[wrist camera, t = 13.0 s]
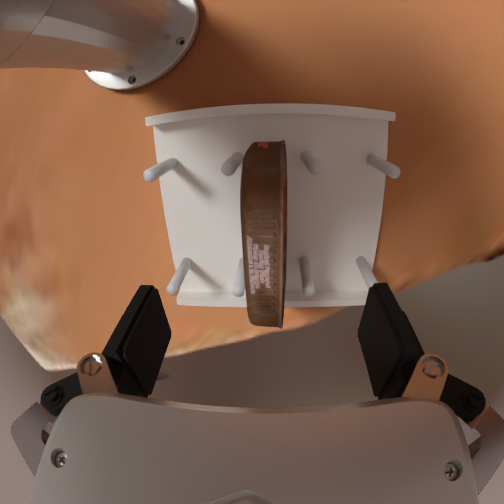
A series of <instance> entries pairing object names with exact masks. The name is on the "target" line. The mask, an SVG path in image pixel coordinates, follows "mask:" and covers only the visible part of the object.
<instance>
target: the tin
mask: <svg viewBox="0 0 504 504" xmlns="http://www.w3.org/2000/svg"><path fill="white" fill-rule="evenodd" d="M240 215H241V233H242V249H243V265H244V279H245V292H246V302H247V312H248V317H249V320H250V322H251V323H252V324H253V325H256V326H267V327H279V328H282V326H283V316H284V300H285V286H286V260H287V155H286V144H285V140H282V141H275V142H271V141H261V142H254V143H252V144H251V145H250V147H249V148H248V150H247V151H246V153H245V155H244V159H243V164H242V172H241V185H240Z"/></svg>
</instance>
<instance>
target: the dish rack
mask: <svg viewBox="0 0 504 504" xmlns="http://www.w3.org/2000/svg"><path fill="white" fill-rule="evenodd" d="M388 121H395V112H391V111H384V110H377V109H369V108H361V107H351V106H340V105H325V104H298V103H272V104H245V105H230V106H218V107H208V108H200V109H192V110H184V111H178V112H171V113H165V114H159V115H154V116H149V117H145V122H146V126H151V125H153V129H154V139H155V149H156V157H157V165H155V166H153V167H151V168H149V169H147V170H145V171H144V174H143V176H144V179H145V180H146V181H147V182H152V181H154V180H156V179H157V178H159V180H160V187H161V194H162V200H163V207H164V213H165V219H166V224H167V230H168V235H169V241H170V246H171V251H172V256H173V261H174V266H175V270H176V272H175V274H174V276H173V278H172V280H171V281H170V283H169V285H168V287H167V292H168V293H169V294H171V295H176V294H177V292H178V290H179V288H180V292H179V294H178V296H177V298H176V301H177V305H188V306H214V307H247V302H246V292H245V279H244V265H243V249H242V233H241V215H240V185H241V172H242V164H243V159H244V155H245V153H246V151H247V150H248V148H249V147H250V145H251V144H252V143H254V142H261V141H271V142H275V141H282V140H285V144H286V155H287V260H286V286H285V300H284V307H331V306H356V305H365V303H366V299H367V295H368V289H369V288H370V287H373V284H374V283H378V282H377V280H376V278H375V276H374V274H373V272H372V269H373V264H374V259H375V254H376V248H377V242H378V236H379V229H380V222H381V215H382V207H383V199H384V189H385V179H386V175H387V176H389V177H391V178H392V179H396V178H398V177H399V176H400V173H401V171H400V168H399V167H398V166H396V165H394V164H392V163H390V162H388V161H387V149H388Z"/></svg>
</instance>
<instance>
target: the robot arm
mask: <svg viewBox="0 0 504 504" xmlns="http://www.w3.org/2000/svg"><path fill="white" fill-rule="evenodd" d="M199 17H200V15H199V9H198V5H197V2H196V0H0V69H2V68H30V67H34V68H64V69H77V70H84V71H85V72H86V74H87V76H88V77H89V78H90V79H91V80H92V81H93V82H94V83H96V84H98V85H99V86H101V87H105V88H108V89H114V90H130V89H135V88H139V87H142V86H145V85H147V84H150V83H152V82H154V81H155V80H157V79H159V78H161V77H162V76H164V75H165V74H166V73H167V72H169V71H170V70H171V69H173V68H174V67H175V66H176V65H177V63H178V62H179V61H180V60H181V59H182V58H183V57H184V55H185V54H186V53H187V51H188V50H189V49H190V47H191V45H192V43H193V41H194V39H195V37H196V33H197V30H198V27H199ZM183 41H185V43H184V44H183V45H181V43H182V42H183ZM135 79H136V82H135ZM358 338H359V342H360V345H361V348H362V352H363V355H364V359H365V363H366V366H367V369H368V373H369V377H370V381H371V385H372V389H373V393H374V396H375V397H377V396H378V400H375V401H368V402H360V403H352V404H343V405H332V406H321V407H303V408H235V407H218V406H206V405H195V404H186V403H177V402H171V401H164V400H157V399H151V398H147V397H148V395H151V393H152V391H153V388H154V385H155V382H156V379H157V376H158V373H159V370H160V367H161V364H162V361H163V358H164V356H165V353H166V350H167V347H168V344H169V341H170V339H171V329H170V326H169V323H168V320H167V317H166V314H165V311H164V308H163V305H162V301H161V298H160V295H159V291H158V289H155V287H154V286H152V285H141V286H140V287H139V289H138V290H137V292H136V294H135V295H134V297H133V299H132V300H131V302H130V304H129V305H128V307H127V309H126V311H125V312H124V314H123V315H122V317H121V319H120V321H119V323H118V324H117V326H116V328H115V330H114V332H113V333H112V335H111V337H110V339H109V341H108V343H107V344H106V346H105V348H104V350H103V352H102V354H100V353H90V354H87V355H85V356H84V357H83V358H82V359H81V360H80V361H79V363H78V365H77V373H74V374H72V375H70V376H68V377H66V378H64V379H62V380H60V381H58V382H56V383H54V384H51V385H50V386H48V387H47V388H45V390H44V391H43V393H42V395H41V402H40V403H38V402H36V403H34V404H33V405H32V406H31V407H30V408H29V409H27V410H26V411H25V412H24V413H23V414H22V415H21V416H19V417H18V418H17V419H16V420H15V421H14V422H13V424H12V426H11V434H12V437H13V439H14V441H15V443H16V445H17V447H18V449H19V451H20V452H21V454H22V456H23V458H24V459H25V461H26V463H27V465H28V467H29V468H30V470H31V471H32V473H33V475H34V476H35V481H34V484H33V488H32V493H31V498H30V503H29V504H479V501H478V495H479V494H480V492H481V491H482V490H483V488H484V487H485V486H486V484H487V483H488V481H489V480H490V479H491V477H492V476H493V474H494V473H495V471H496V470H497V468H498V467H499V466H500V464H501V462H502V461H503V459H504V419H503V418H502V417H501V416H500V415H499V414H498V413H497V412H496V411H495V410H494V409H492V408H491V407H490V406H489V407H488V408H487V407H486V406H485V397H484V395H483V393H482V392H481V391H480V390H478V389H477V388H475V387H473V386H471V385H469V384H468V383H466V382H463V381H462V380H460V379H458V378H456V377H454V376H452V375H450V374H448V365H447V363H446V361H445V360H444V359H443V358H442V357H441V356H439V355H437V354H432V353H430V354H429V353H428V354H424V352H423V349H422V347H421V345H420V343H419V341H418V339H417V337H416V334H415V332H414V330H413V328H412V326H411V324H410V322H409V320H408V318H407V316H406V314H405V313H404V312H403V311H402V310H401V308H400V307H399V305H398V303H397V301H396V299H395V297H394V295H393V293H392V291H391V289H390V288H389V286H388V284H387V283H374V284H373V287H370V288H369V291H368V295H367V299H366V303H365V307H364V311H363V314H362V318H361V322H360V325H359V329H358Z"/></svg>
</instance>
